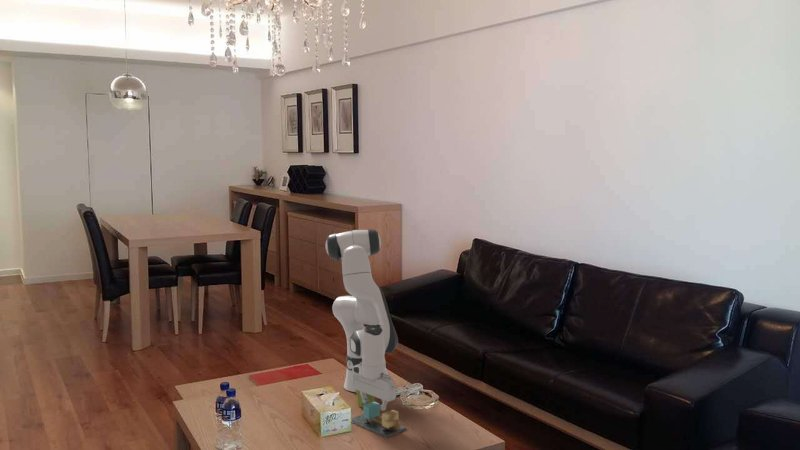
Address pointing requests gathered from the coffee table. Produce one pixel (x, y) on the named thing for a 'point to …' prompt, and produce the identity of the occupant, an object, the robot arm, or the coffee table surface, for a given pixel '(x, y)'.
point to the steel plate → (376, 426)
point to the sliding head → (371, 410)
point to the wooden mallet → (388, 420)
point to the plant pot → (359, 398)
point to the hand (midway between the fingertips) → (374, 406)
